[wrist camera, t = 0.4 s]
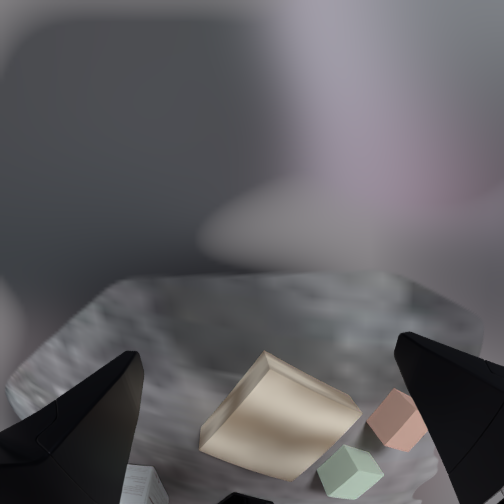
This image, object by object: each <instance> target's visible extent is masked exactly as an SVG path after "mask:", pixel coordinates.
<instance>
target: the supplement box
mask: <svg viewBox="0 0 504 504" xmlns="http://www.w3.org/2000/svg"><path fill="white" fill-rule="evenodd" d="M168 501H169V497H168V495H167V493H166V491H165V489H164V487H163V485H162V483H161V481H160V479H159V477H158V474H157V472H156V470H155V468H154V467H153V466H140V465H130V464H127V469H126V473H125V478H124V483H123V489H122V494H121V499H120V504H168Z"/></svg>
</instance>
